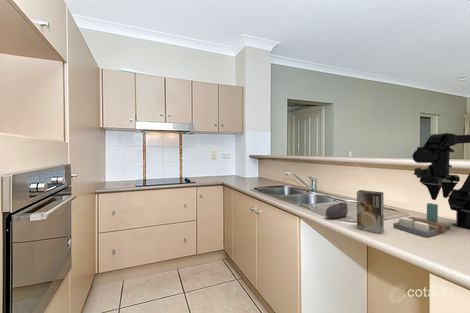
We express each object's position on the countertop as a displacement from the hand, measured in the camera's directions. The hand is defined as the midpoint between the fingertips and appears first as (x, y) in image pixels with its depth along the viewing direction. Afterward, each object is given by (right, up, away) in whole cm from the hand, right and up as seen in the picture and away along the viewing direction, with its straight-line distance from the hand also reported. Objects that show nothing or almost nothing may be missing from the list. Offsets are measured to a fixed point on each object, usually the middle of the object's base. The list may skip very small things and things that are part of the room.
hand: (439, 198), depth 94 cm
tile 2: (-13, -10, -7) cm, 18 cm away
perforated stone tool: (-37, -13, +16) cm, 42 cm away
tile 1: (-15, -10, -1) cm, 18 cm away
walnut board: (-8, -13, -1) cm, 15 cm away
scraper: (-2, -13, +2) cm, 13 cm away
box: (-15, -13, -4) cm, 20 cm away
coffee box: (-31, -13, -1) cm, 33 cm away
